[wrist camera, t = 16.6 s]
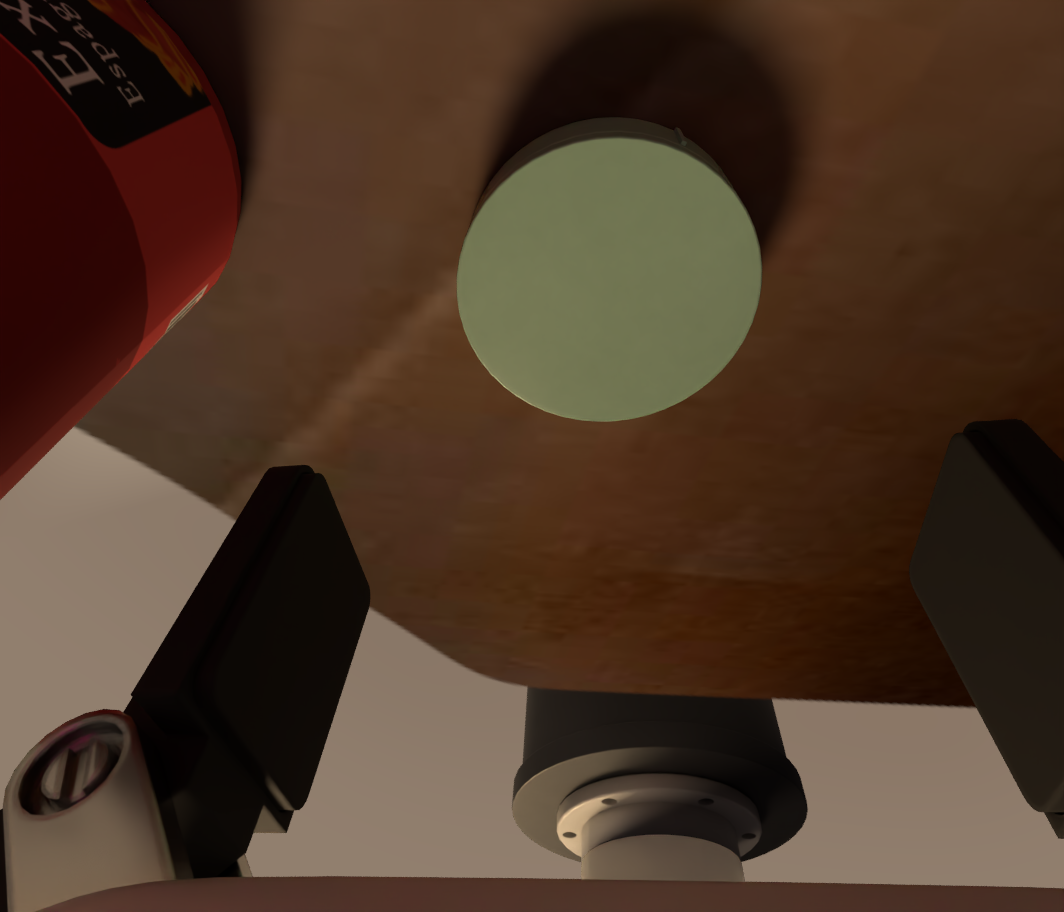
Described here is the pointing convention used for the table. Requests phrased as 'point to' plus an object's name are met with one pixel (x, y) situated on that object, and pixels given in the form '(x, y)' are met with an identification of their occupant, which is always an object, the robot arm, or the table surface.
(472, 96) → the table surface
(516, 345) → the lid
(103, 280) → the canned food
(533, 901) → the robot arm
